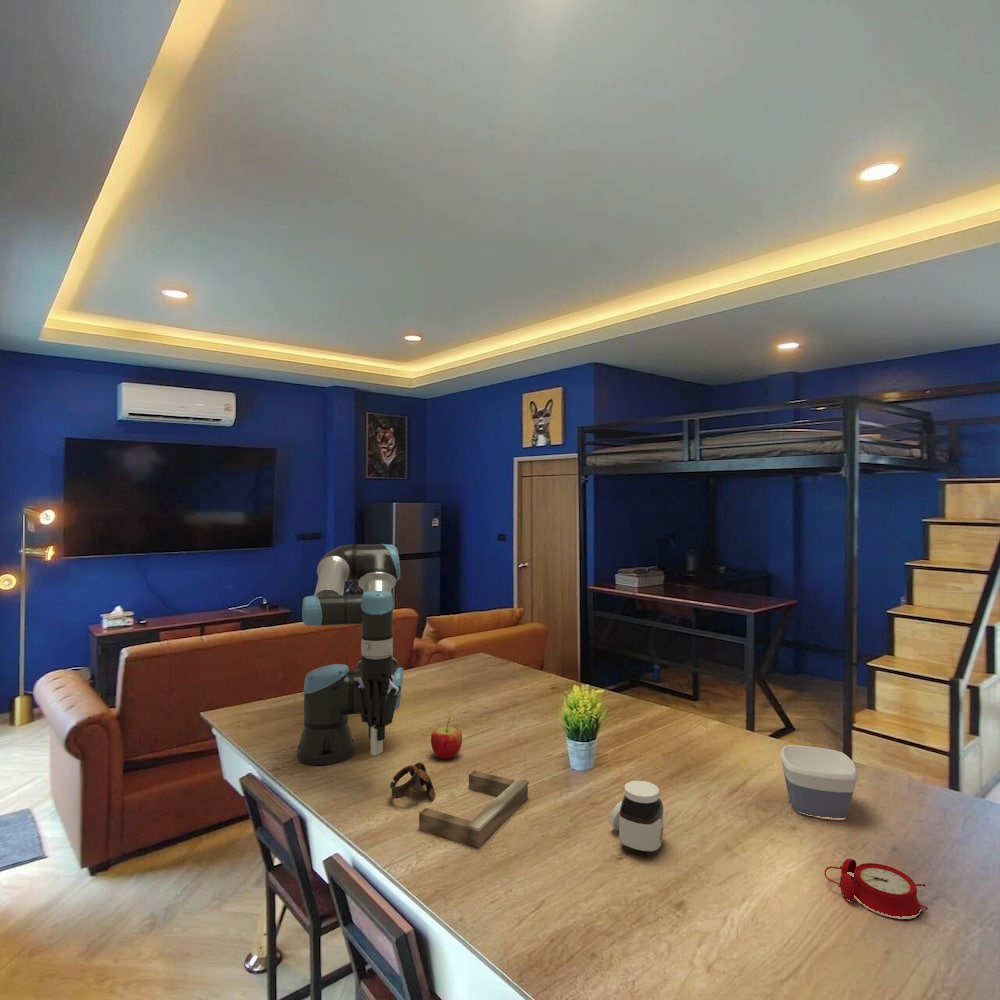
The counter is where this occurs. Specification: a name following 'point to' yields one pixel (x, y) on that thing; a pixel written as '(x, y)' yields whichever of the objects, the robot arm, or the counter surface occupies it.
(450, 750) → the apple
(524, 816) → the counter surface
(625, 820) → the spread jar
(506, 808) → the walnut pocket
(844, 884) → the alarm clock
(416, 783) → the brown broken pot
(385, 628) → the robot arm
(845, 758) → the bowl
